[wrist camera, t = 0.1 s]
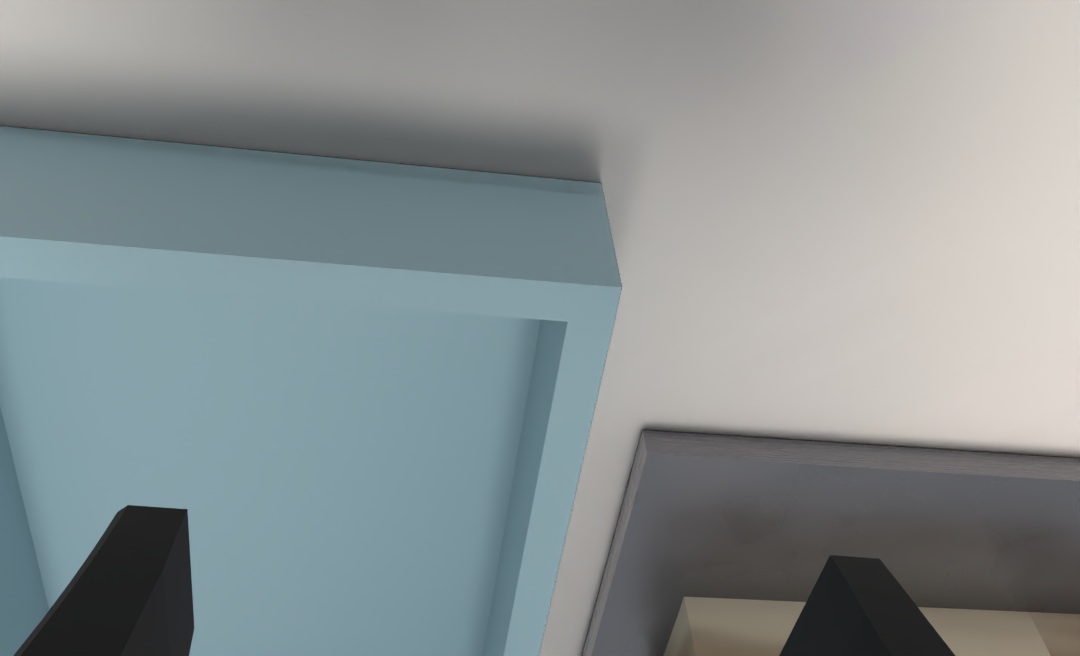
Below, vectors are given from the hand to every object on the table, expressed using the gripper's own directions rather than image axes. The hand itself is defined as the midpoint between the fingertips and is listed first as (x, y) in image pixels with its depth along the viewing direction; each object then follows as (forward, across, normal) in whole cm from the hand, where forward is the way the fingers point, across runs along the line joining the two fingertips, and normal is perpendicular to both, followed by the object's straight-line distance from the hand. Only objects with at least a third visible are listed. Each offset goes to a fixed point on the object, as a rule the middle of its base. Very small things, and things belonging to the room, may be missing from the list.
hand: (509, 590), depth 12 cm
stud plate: (+10, -13, +13) cm, 21 cm away
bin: (+10, +4, +11) cm, 15 cm away
